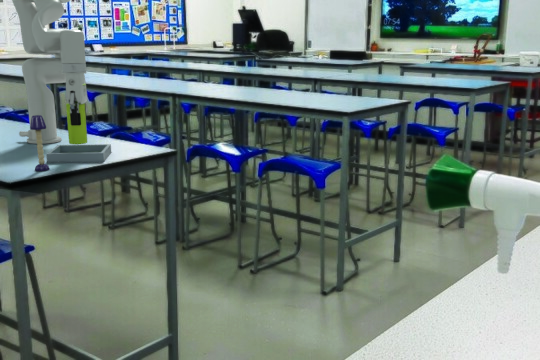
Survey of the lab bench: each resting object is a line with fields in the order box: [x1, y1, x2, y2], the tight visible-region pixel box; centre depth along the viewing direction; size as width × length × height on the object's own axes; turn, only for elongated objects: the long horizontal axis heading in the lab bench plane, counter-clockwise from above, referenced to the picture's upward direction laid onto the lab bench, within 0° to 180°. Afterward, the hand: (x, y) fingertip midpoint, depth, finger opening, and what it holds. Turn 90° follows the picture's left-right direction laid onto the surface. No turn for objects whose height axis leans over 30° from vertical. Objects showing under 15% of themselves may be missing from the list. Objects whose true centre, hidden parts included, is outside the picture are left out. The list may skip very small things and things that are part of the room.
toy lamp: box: [29, 115, 50, 172], centre depth 183 cm, size 5×5×17 cm
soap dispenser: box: [65, 84, 88, 145], centre depth 199 cm, size 6×7×20 cm
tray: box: [45, 143, 112, 164], centre depth 202 cm, size 18×16×3 cm
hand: (78, 123), depth 200 cm, fingers closed on soap dispenser, 6 cm apart
